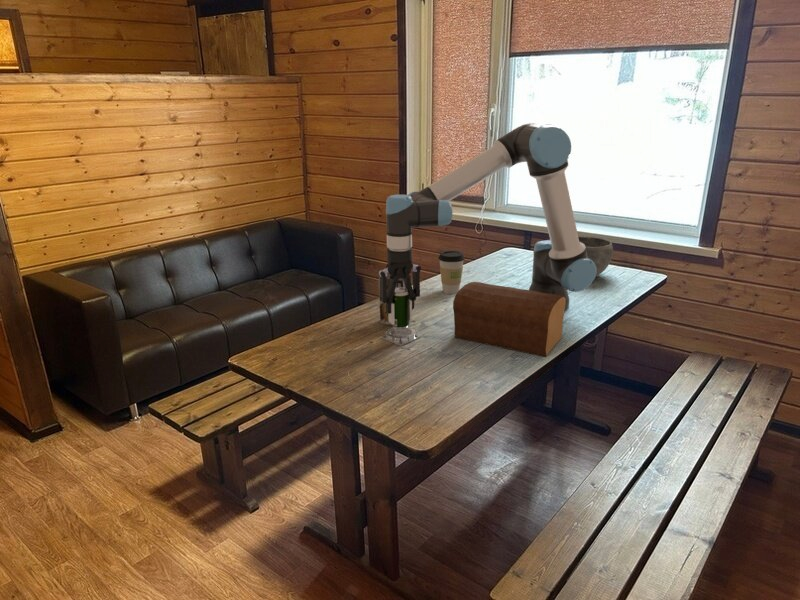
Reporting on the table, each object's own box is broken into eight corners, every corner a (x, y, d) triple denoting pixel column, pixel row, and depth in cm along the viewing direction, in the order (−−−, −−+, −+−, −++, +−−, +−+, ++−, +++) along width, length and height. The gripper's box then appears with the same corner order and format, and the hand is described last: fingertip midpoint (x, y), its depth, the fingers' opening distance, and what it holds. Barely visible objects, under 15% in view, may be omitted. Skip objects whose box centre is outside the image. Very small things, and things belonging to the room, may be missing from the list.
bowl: (617, 284, 228) (621, 246, 222) (563, 284, 228) (566, 247, 223) (600, 268, 247) (604, 233, 242) (550, 268, 248) (553, 234, 242)
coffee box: (412, 320, 195) (411, 274, 189) (404, 327, 189) (403, 280, 184) (387, 316, 199) (386, 271, 193) (379, 323, 193) (377, 277, 188)
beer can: (402, 331, 177) (401, 293, 173) (388, 327, 180) (387, 290, 176) (412, 325, 181) (412, 289, 177) (398, 321, 184) (398, 285, 180)
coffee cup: (464, 295, 217) (465, 257, 212) (438, 295, 218) (439, 257, 212) (462, 287, 227) (463, 250, 222) (437, 287, 227) (437, 250, 222)
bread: (545, 359, 166) (549, 307, 160) (451, 339, 180) (452, 290, 175) (563, 337, 181) (567, 288, 175) (475, 320, 195) (476, 274, 189)
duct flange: (421, 337, 182) (421, 332, 181) (400, 346, 176) (400, 340, 175) (400, 329, 188) (400, 324, 187) (379, 337, 182) (379, 332, 181)
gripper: (420, 241, 179) (420, 311, 187) (365, 249, 171) (368, 322, 179) (432, 247, 173) (432, 319, 181) (376, 255, 165) (378, 330, 173)
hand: (400, 320), depth 180 cm, fingers closed on beer can, 5 cm apart
